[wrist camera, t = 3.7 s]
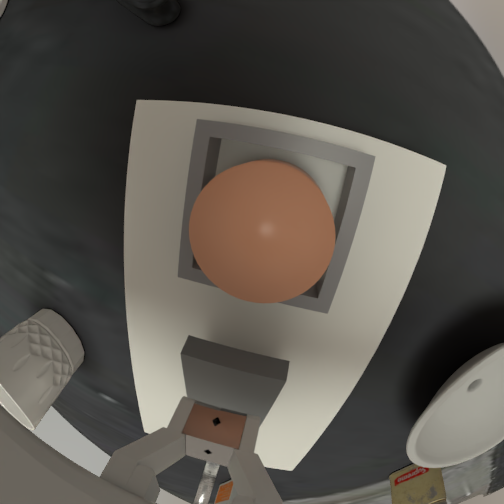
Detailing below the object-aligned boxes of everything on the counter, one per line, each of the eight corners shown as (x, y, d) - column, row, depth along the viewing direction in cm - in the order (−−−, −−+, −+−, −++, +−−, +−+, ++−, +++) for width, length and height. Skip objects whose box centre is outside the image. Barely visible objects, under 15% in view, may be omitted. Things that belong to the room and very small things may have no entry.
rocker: (188, 334, 11) (179, 355, 11) (289, 361, 11) (286, 383, 10) (194, 399, 16) (189, 413, 15) (260, 416, 16) (257, 431, 15)
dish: (362, 371, 18) (371, 426, 13) (518, 255, 12) (559, 287, 8) (426, 445, 21) (433, 480, 16) (530, 375, 15) (547, 404, 11)
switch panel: (165, 106, 13) (116, 96, 9) (420, 160, 12) (464, 169, 8) (156, 409, 23) (137, 443, 19) (294, 445, 22) (290, 484, 18)
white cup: (27, 308, 22) (-33, 357, 13) (59, 295, 20) (-17, 359, 11) (64, 366, 25) (16, 422, 15) (103, 366, 22) (47, 438, 13)
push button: (221, 149, 10) (199, 150, 8) (340, 174, 9) (352, 182, 7) (205, 257, 11) (183, 284, 9) (311, 283, 11) (312, 316, 9)
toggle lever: (204, 447, 17) (181, 520, 12) (228, 453, 17) (206, 527, 12) (205, 449, 18) (183, 517, 13) (227, 455, 18) (206, 524, 13)
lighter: (433, 452, 21) (445, 517, 12) (442, 457, 22) (453, 517, 12) (384, 475, 24) (388, 537, 14) (396, 479, 24) (400, 537, 15)
